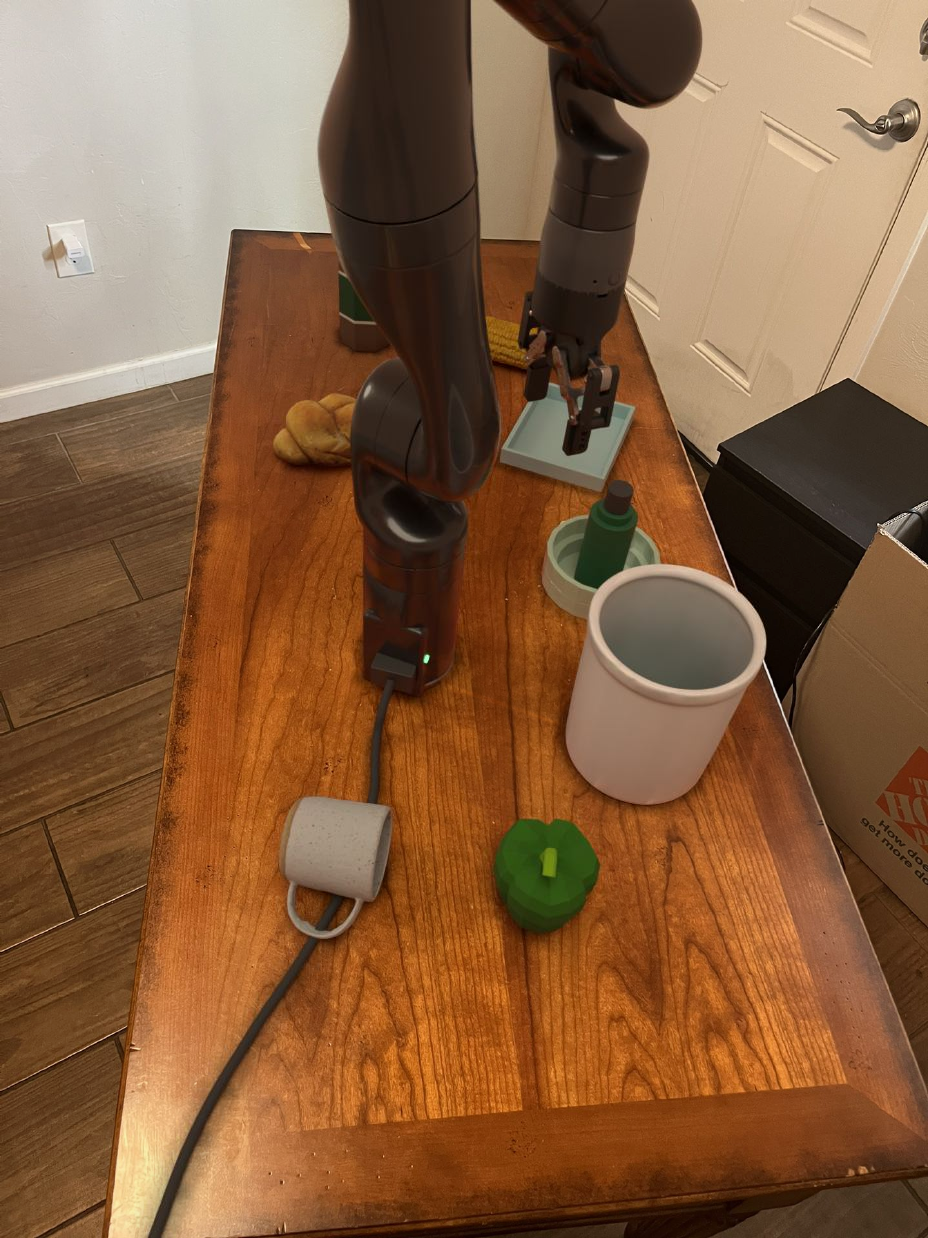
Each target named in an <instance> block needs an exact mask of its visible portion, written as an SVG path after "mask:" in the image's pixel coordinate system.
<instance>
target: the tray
mask: <svg viewBox="0 0 928 1238" xmlns="http://www.w3.org/2000/svg"><path fill="white" fill-rule="evenodd" d="M583 397H584V396H579V397H578V407H579V410H581V409H582V403H583ZM636 408H637V407H636V406H634V405H631V404H627V403H623V402H619V401H616V400H615V402H614V407H613V413H612V418H611V423H610V426H609V427H606V428H599V429H594V430H591V435H590V439H589V443H588V448H587V450H586V452H584V453H581V454H577V455H572V456H566V455H565V453H564V452H563V450H562V446H563V441H564V436H565V431H566V426H567V421H568V420H569V414H568V407H567V401H566V399H564V398H562V397H561V394H560V387H559V384H556V383H552V382H549V386H548V392H547V396H546V398H544V399H543V400H538V401H532V402H528V401H527V403H526V405H525V407H524V408H523V410H522V411H521V414H520V415H519V417H518V419H517V420H516V422H515V424H514V426H513V427H512V429H511V431H510V433H509V435H508V437H507V438H506V440H505V441H504V443H503V445H502V446H501V449H500V456H499V462H500V463H503V464H505V465H509V466H513V467H516V468H519V469H522V470H526V471H530V472H533V473H535V474H539V475H541V476H542V475H543V476H545V477H549V478H552V479H556V480H559V481H561V482H562V481H563V482H566V483H569V484H572V485H576V486H579V487H583V488H585V489H588V490H593V491H596V492H598V493H602V491H603V489H604V487H605V485H606V482H607V480H608V478H609V475H610V473H611V471H612V469H613V467H614V465H615V463H616V461H617V458H618V456H619V454H620V451H621V449H622V446H623V444H624V442H625V439H626V437H627V435H628V433H629V430H630V427H631V426H632V423H633V421H634V417H635V413H636ZM600 410H601V408H599V413H600Z"/></svg>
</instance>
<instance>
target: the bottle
mask: <svg viewBox="0 0 928 1238" xmlns="http://www.w3.org/2000/svg"><path fill="white" fill-rule="evenodd" d="M634 492H635V488H634V486H633V485H632V484H631V483H630V482H629V481H626V480H622V479H614V480H612V481H611V482H609V484H608V486H607V489H606V493H605V496H604V497H602V498H601V499H598V500H596V501H594V503H592V505H591V506H590V508H589V513H588V515H589V517H588V521H587V525H586V529H585V533H584V538H583V542H582V546H581V550H580V554H579V558H578V562H577V567H576V571H575V575H574V580H576V581H577V582H579V583H581V584H583V585H586V586H589V587H592V588H595V589H599V587H600V586H601V585H602V584H603V583H604V582H606V581H607V580H608V579H609V578H611V577H612V576H614V575H616V574H617V573H620V572H622V571H623V569H624V566H625V562H626V559H627V556H628V552H629V549H630V545H631V542H632V539H633V535H634V532H635V529H636V527H637V525H638V523H639V522H638V521H639V514H638V512H637V510H636V508H635V507H634V506H633V504H632V499H633V497H634Z"/></svg>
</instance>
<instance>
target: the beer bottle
mask: <svg viewBox="0 0 928 1238" xmlns="http://www.w3.org/2000/svg"><path fill="white" fill-rule="evenodd" d="M338 311H339V313H338V314H339V316H338V317H339V335H340V336H339V337H340V343H342V344H343V345H344V346H346V347H348V348H349V349H351V350H353V351H354V352H360V353H361V352H362V353H363V352H364V353H376V352H379V351H380V350H383V349H384V348H385V349H386V347H389V346H391V344H390V343H389V341H388V340H387V339H386V337H385V336H384V334H383V333H382V332H381V330H380V329H379V327H378V326H377V324H376V323H375V322H374V320H373V319H372V317H371V316H370V314H369V313H368V311H367V310H366V308H365V307H364V305H363V303H362V302H361V300H360V299H359V297H358V295H357V294H356V292H355V290H354V289H353V287H352V285H351V283H350V281H349V280H348V278H347V276H346V274H345V272H344V270H343V268H342V266H341V264H340V261H339V260H338Z"/></svg>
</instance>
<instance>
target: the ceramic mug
mask: <svg viewBox="0 0 928 1238" xmlns="http://www.w3.org/2000/svg"><path fill="white" fill-rule="evenodd" d="M282 829H283V830H282V833H281V837H280V843H279V852H278V869H279V872H280V874H281V876H282V877H283V879H285V880H287V881H288V883H289V887H288V891H287V899H286V906H287V907H286V908H287V913H288V916H289V919H290V920H291V922H292V924H293V925H294V927H295V928H296V929H297V930H298V931H299V932H301V933H302V934H305V935H307V936H309V937H310V936H311V937H314V938H319V940H326V939H327V940H328V939H332V938H336V937H339V936H340V935H342V934H343V933H344V932H346V931H348V929H350V928H351V926H352V925H353V923H354V922H355V921H356V919H357V917H358V915H359V913H360V911H361V909H362V906H363V904H364V902H368V903H372V902H374V901H375V899H376V898H377V896H378V894H379V892H380V890H381V885H382V882H383V879H384V875H385V871H386V867H387V864H388V858H389V852H390V847H391V840H392V835H393V834H392V833H393V811H392V808H391V807H390V806H388V805H386V804H378V803H377V804H370V803H367V802H362V801H355V800H347V799H339V798H334V797H333V798H332V797H329V796H320V795H319V796H317V795H315V796H314V795H313V796H303V797H300V798H298V799H297V800H295V802H294V803H293V804H292V805H291V807H290V809H289V811H288V813H287V815H286V819H285V821H284V825H283V828H282ZM298 886H300V887H304V888H307V889H313V890H317V891H323V892H327V893H331V894H333V895H334V894H337V895H340V896H344V897H346V898H350V899H353V900H355V904H354V906H353V909H352V910H351V912H350V913H349V915H348V917H346V920H344V922H342V924H340V925H339V926H337V927H336V928H333V930H327V929H325V930H324V931H318V930H315V927H316V926H314V925H313V924H311V923H310V922H309V921H308V920H302V919H301V918H300V917H299V916H298V912H297V911H296V894H297V889H298Z"/></svg>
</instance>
